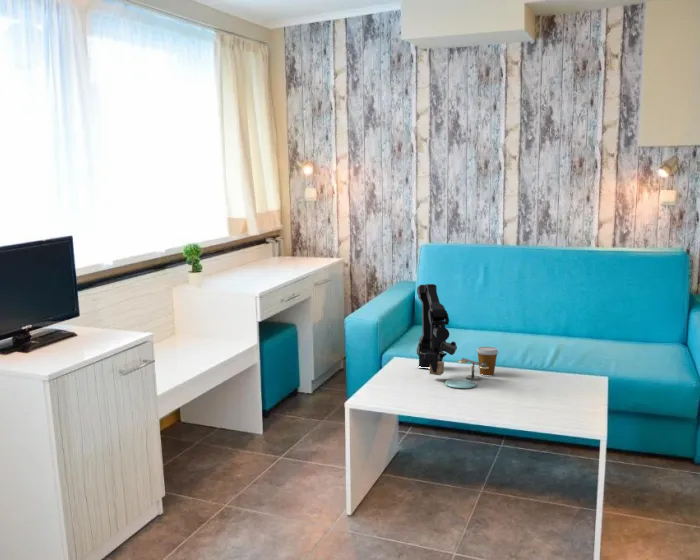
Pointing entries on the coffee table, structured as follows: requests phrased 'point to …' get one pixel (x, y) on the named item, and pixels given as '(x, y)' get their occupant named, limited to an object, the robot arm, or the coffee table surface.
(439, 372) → the tan block
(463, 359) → the balance
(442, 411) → the coffee table surface
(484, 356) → the disposable coffee cup
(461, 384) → the teal dish
